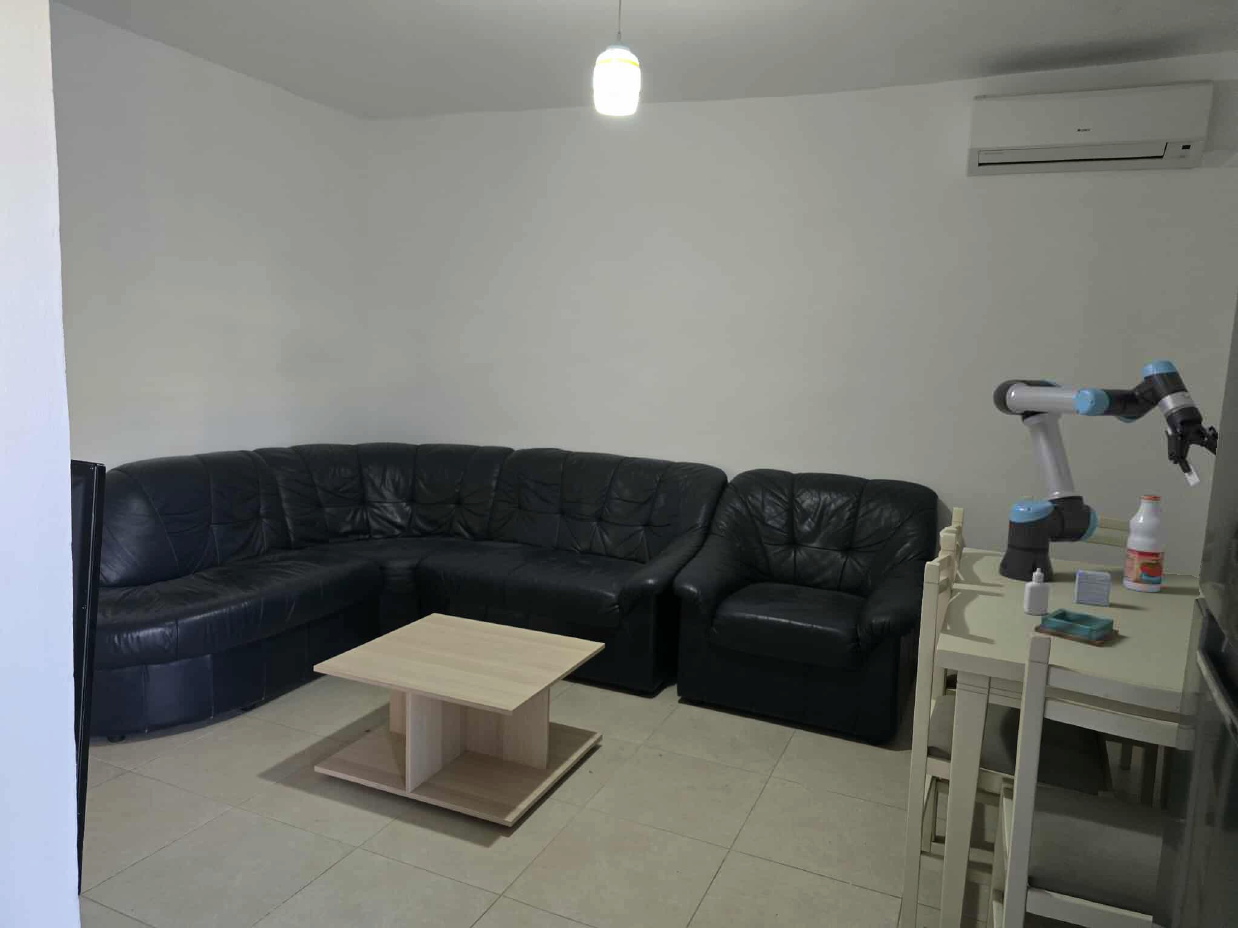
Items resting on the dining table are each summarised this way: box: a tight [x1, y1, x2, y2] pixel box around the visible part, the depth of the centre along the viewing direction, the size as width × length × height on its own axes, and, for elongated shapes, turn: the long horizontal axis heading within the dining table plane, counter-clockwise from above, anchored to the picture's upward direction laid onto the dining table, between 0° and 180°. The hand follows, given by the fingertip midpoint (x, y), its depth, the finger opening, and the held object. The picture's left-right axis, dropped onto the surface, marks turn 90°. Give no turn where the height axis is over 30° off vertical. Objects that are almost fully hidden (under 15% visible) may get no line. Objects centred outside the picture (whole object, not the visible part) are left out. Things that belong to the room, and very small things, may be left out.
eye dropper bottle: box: [1022, 568, 1050, 616], centre depth 209 cm, size 4×6×12 cm
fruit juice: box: [1122, 494, 1167, 593], centre depth 236 cm, size 9×9×28 cm
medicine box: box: [1074, 569, 1112, 608], centre depth 220 cm, size 8×4×9 cm, turn 65°
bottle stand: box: [1034, 608, 1119, 648], centre depth 194 cm, size 14×14×4 cm
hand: (1218, 483), depth 202 cm, fingers open, 13 cm apart
